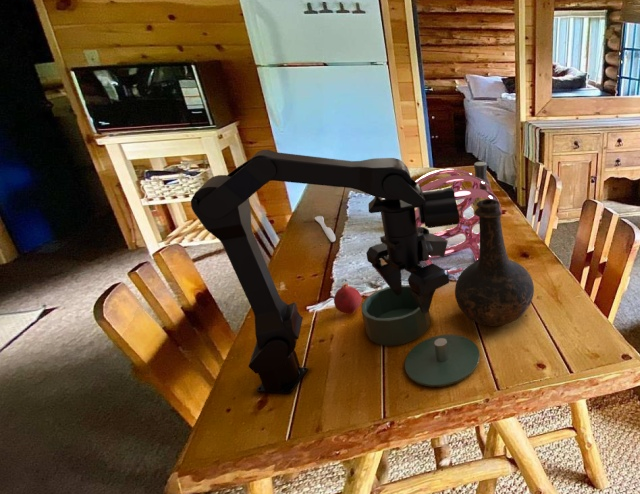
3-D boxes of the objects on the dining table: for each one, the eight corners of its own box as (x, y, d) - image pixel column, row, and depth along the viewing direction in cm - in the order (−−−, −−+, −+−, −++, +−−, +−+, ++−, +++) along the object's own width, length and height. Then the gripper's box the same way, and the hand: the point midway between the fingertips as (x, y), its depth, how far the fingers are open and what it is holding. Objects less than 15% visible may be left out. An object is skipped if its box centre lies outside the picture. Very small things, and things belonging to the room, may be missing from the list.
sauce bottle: (471, 217, 153) (467, 161, 144) (489, 214, 155) (485, 159, 146) (477, 224, 147) (473, 166, 138) (495, 221, 150) (492, 164, 141)
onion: (355, 322, 100) (347, 292, 96) (332, 319, 101) (324, 289, 97) (369, 307, 105) (362, 278, 101) (347, 304, 106) (340, 276, 102)
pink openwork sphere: (518, 217, 103) (475, 133, 114) (403, 263, 98) (369, 171, 108) (520, 263, 129) (484, 192, 139) (429, 303, 123) (399, 225, 133)
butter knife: (322, 215, 154) (313, 217, 152) (338, 239, 136) (328, 242, 135) (323, 216, 154) (313, 218, 152) (338, 241, 136) (328, 243, 135)
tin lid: (471, 391, 81) (469, 370, 79) (394, 387, 82) (390, 366, 80) (485, 339, 94) (484, 320, 92) (418, 337, 95) (415, 318, 93)
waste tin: (419, 347, 92) (415, 321, 89) (356, 344, 93) (350, 319, 90) (437, 309, 104) (434, 285, 101) (381, 307, 105) (376, 284, 102)
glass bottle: (520, 286, 113) (516, 182, 100) (546, 326, 98) (546, 210, 85) (450, 301, 107) (438, 192, 94) (467, 346, 92) (454, 224, 79)
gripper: (469, 231, 78) (474, 304, 85) (410, 205, 90) (419, 271, 97) (416, 253, 71) (426, 330, 78) (358, 221, 82) (372, 292, 89)
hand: (411, 303), depth 86 cm, fingers open, 9 cm apart
